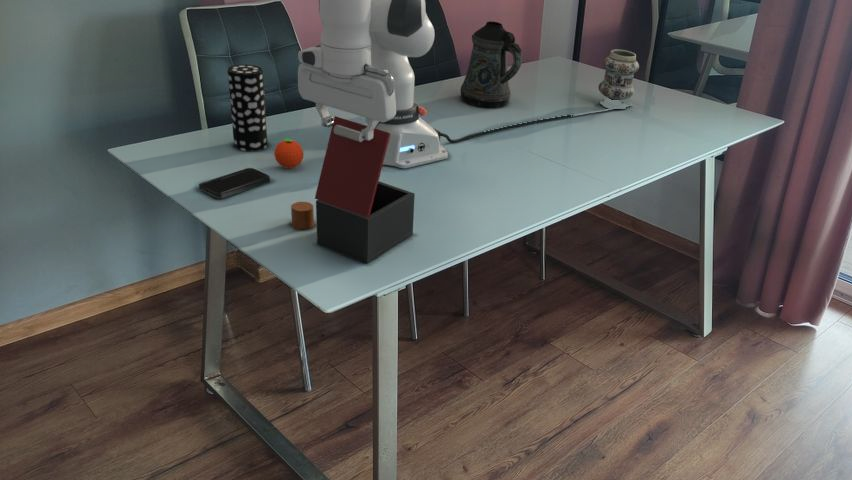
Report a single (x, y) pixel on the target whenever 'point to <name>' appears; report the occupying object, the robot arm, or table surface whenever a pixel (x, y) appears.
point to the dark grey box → (367, 225)
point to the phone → (234, 183)
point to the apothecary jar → (619, 75)
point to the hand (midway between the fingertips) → (347, 132)
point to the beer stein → (490, 67)
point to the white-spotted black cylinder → (247, 107)
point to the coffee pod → (302, 215)
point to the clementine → (288, 153)
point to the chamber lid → (352, 167)
